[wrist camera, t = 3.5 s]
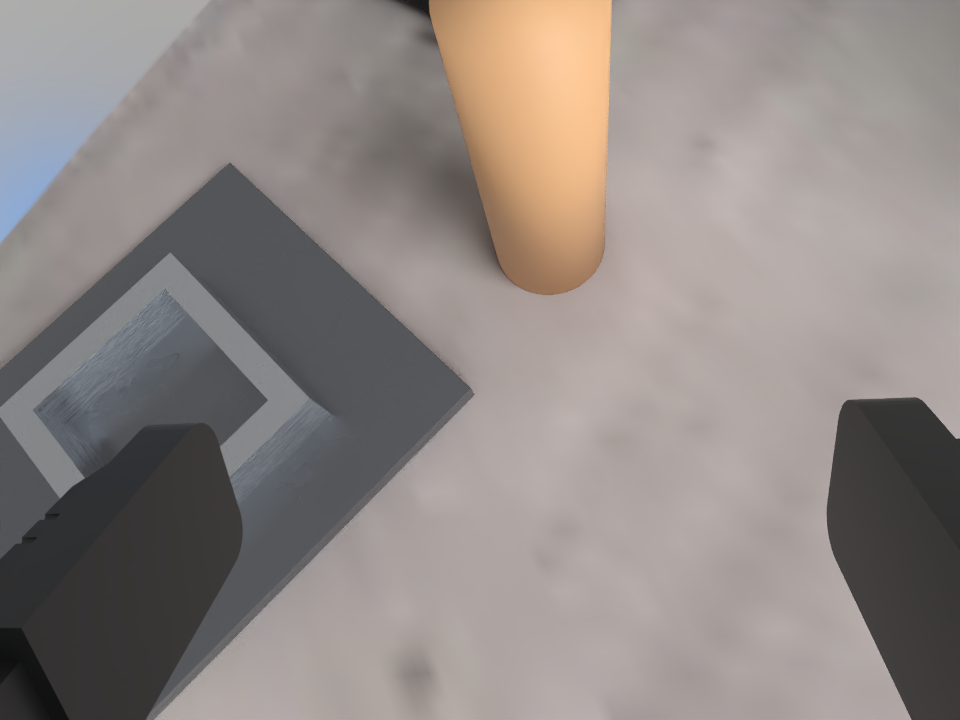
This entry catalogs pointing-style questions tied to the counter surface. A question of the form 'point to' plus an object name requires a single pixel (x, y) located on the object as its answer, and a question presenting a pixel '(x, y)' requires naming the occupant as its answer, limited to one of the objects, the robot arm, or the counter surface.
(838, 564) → the robot arm
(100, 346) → the mounting plate
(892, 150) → the counter surface
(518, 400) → the counter surface
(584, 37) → the post
